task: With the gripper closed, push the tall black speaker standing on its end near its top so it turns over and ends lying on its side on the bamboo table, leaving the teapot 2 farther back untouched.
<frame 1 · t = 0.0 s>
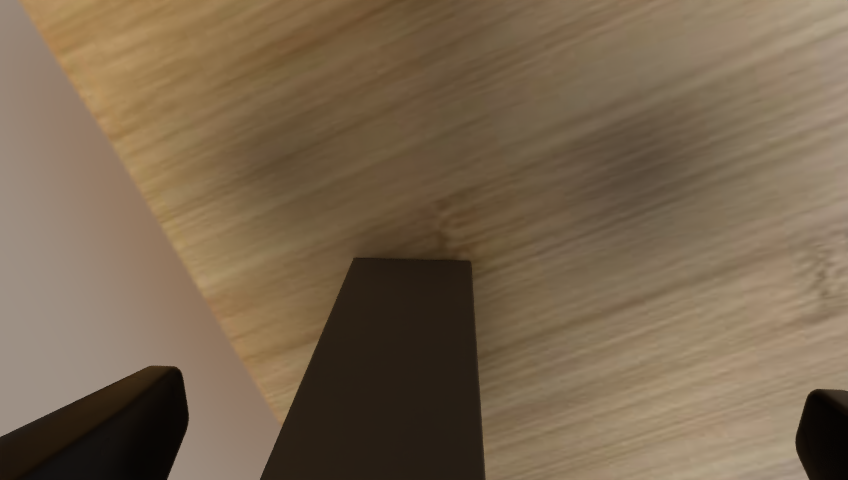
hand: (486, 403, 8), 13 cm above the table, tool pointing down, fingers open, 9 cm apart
speaker: (411, 328, 23), on the table
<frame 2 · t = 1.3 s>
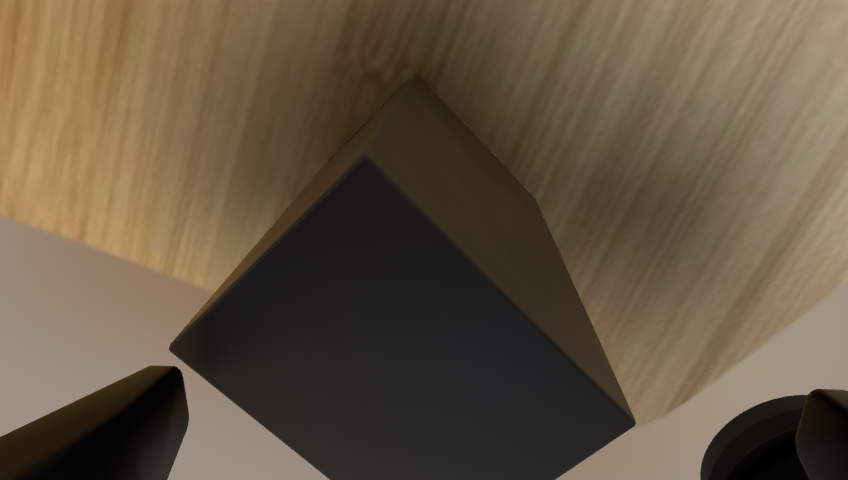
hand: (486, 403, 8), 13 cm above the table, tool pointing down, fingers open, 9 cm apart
speaker: (430, 183, 20), on the table
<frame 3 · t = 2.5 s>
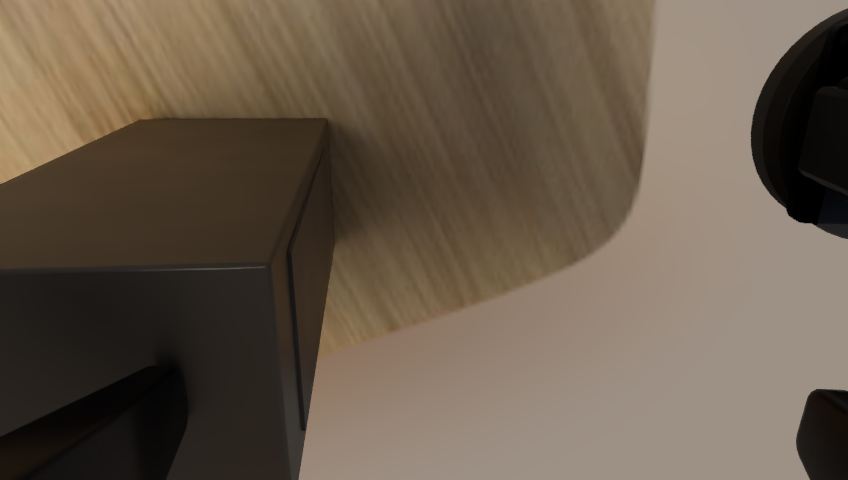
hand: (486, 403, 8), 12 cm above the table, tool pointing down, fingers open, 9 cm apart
speaker: (241, 185, 20), on the table, tilted 8°, touching gripper
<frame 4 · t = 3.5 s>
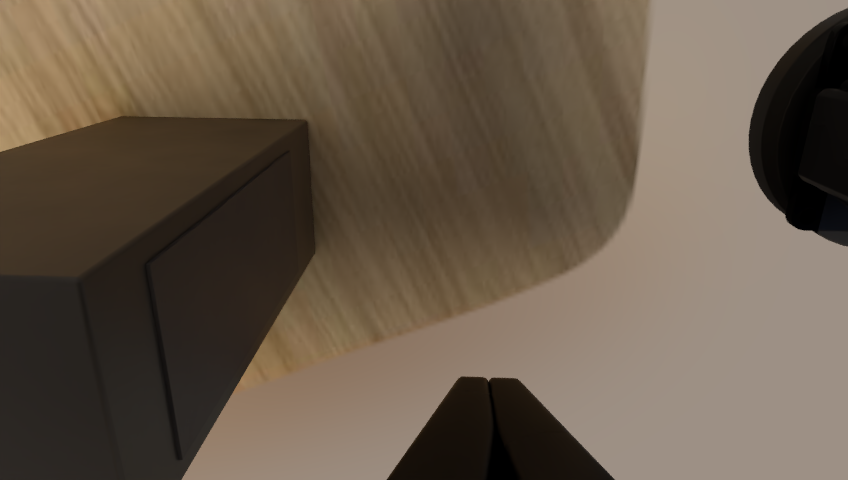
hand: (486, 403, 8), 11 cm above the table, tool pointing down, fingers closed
speaker: (221, 187, 19), on the table
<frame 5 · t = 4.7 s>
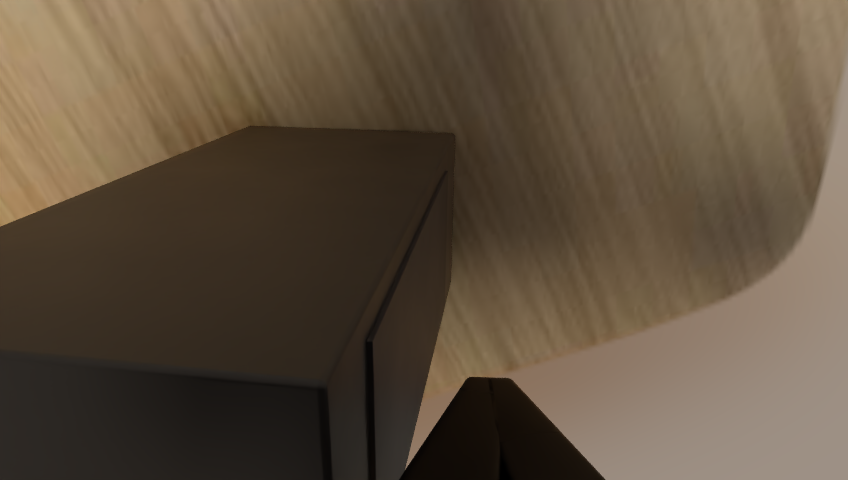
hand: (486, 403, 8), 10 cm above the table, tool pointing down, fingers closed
speaker: (352, 205, 17), on the table, tilted 5°, touching gripper
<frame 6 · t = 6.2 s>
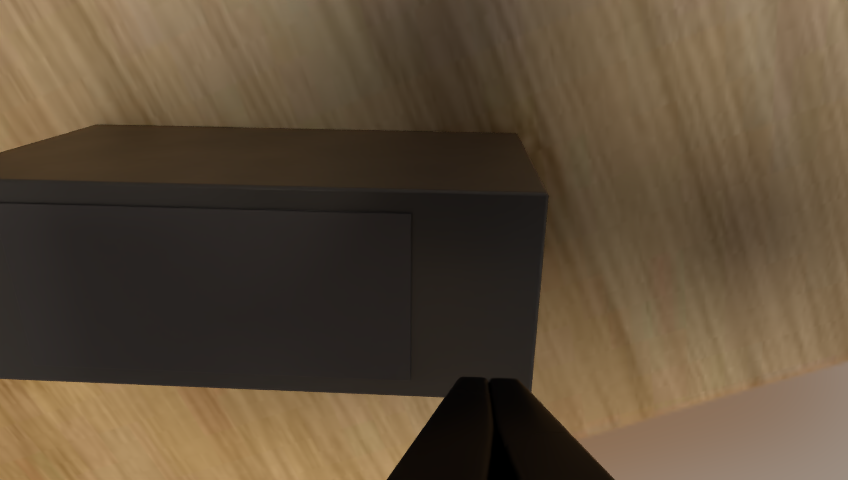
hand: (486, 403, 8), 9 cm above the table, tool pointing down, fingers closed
speaker: (523, 248, 14), point 3 cm above the table, tilted 90°
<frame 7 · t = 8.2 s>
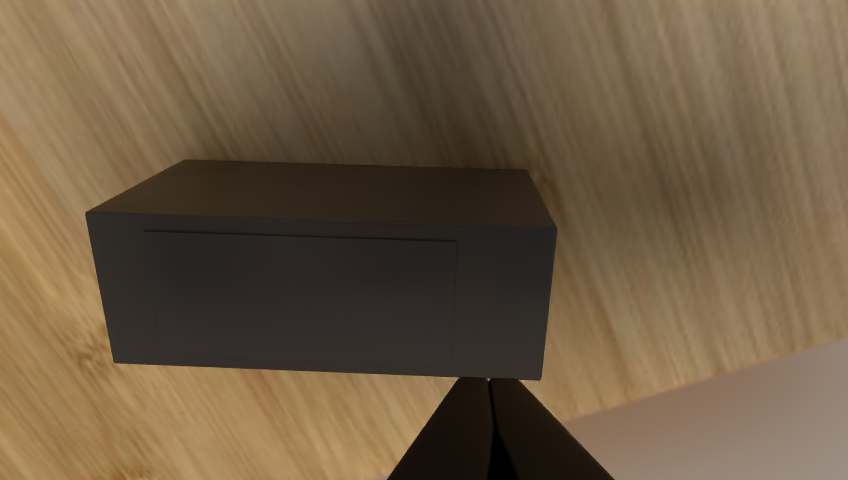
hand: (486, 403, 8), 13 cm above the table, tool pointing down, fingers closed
speaker: (534, 263, 18), point 3 cm above the table, tilted 90°
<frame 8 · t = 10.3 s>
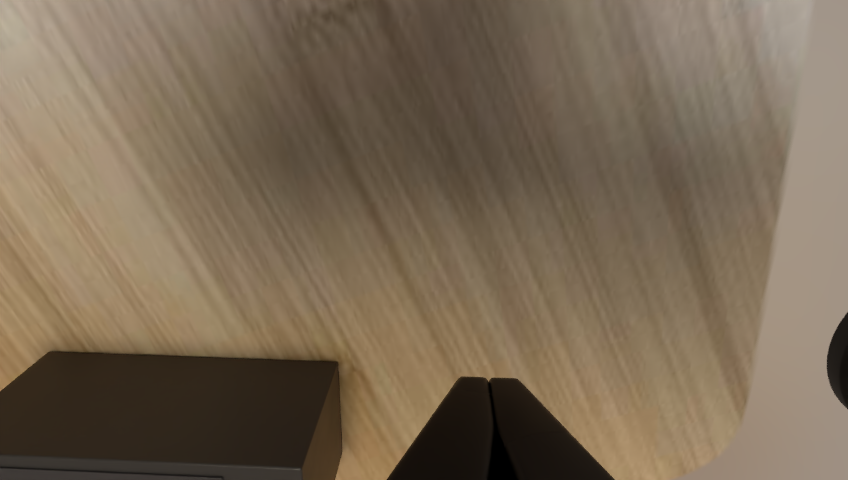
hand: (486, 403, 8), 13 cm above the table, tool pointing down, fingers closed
speaker: (325, 458, 22), point 3 cm above the table, tilted 90°
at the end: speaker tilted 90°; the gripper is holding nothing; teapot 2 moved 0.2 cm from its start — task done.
